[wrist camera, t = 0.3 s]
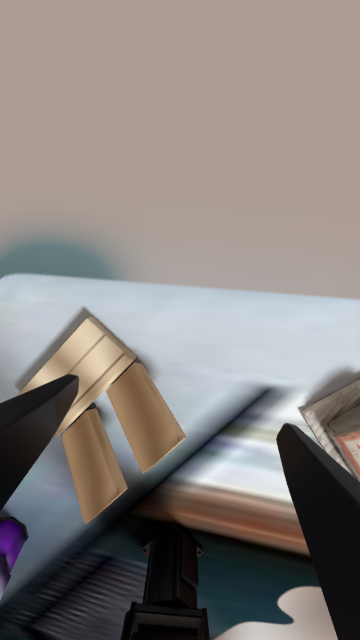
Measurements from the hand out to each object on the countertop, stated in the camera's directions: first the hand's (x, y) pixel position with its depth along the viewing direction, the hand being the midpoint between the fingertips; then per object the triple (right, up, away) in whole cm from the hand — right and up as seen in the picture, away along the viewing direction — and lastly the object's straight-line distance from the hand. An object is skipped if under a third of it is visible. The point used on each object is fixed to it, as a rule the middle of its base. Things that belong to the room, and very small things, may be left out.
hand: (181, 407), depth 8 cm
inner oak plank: (-10, -12, +14) cm, 21 cm away
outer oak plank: (-4, -6, +13) cm, 15 cm away
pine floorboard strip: (-13, -3, +16) cm, 20 cm away
